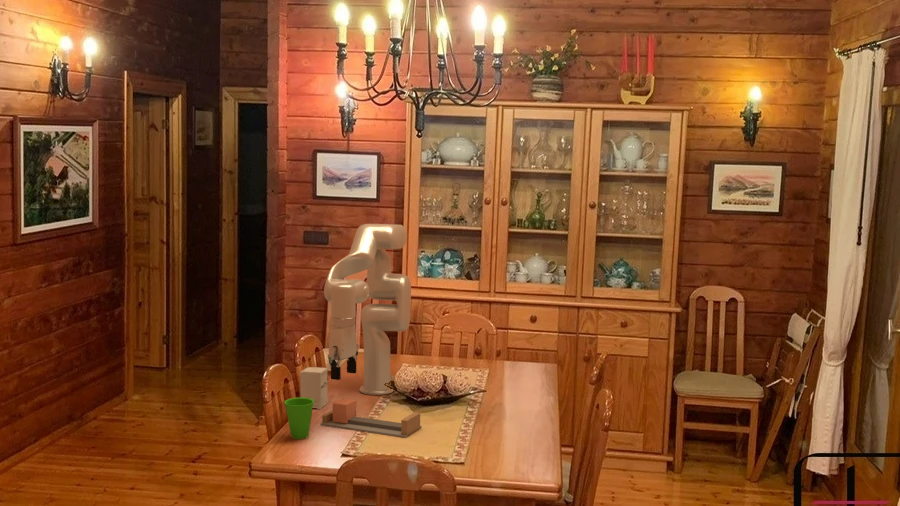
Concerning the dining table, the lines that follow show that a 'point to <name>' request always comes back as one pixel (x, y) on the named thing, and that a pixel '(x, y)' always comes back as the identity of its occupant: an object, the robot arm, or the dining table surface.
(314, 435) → the dining table surface
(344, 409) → the orange cube
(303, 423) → the cup
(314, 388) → the supplement box
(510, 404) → the dining table surface
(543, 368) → the dining table surface
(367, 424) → the track
